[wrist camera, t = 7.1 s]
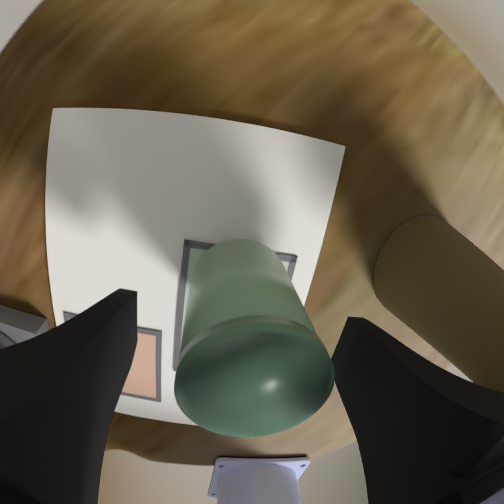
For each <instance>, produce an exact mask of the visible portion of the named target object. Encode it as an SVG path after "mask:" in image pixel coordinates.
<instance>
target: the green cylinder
mask: <svg viewBox="0 0 504 504" xmlns="http://www.w3.org/2000/svg"><path fill="white" fill-rule="evenodd" d="M334 381H335V370H334V366H333V363H332V361H331V359H330V356H329V354H328V352H327V350H326V348H325V346H324V344H323V342H322V341H321V340H320V338H319V337H318V336H317V334H316V332H315V329H314V327H313V325H312V323H311V321H310V319H309V317H308V315H307V313H306V311H305V309H304V306H303V304H302V302H301V300H300V298H299V296H298V294H297V292H296V290H295V288H294V286H293V284H292V282H291V280H290V278H289V276H288V274H287V271H286V269H285V267H284V265H283V263H282V261H281V260H280V258H279V257H278V256H277V255H276V253H275V252H274V251H272V250H271V249H270V248H268V247H267V246H265V245H263V244H261V243H259V242H256V241H253V240H247V239H233V240H228V241H224V242H221V243H218V244H216V245H214V246H213V247H211V248H210V249H208V250H207V251H206V252H205V253H203V254H202V256H201V257H200V258H199V259H198V261H197V262H196V264H195V266H194V268H193V271H192V274H191V280H190V286H189V292H188V299H187V306H186V312H185V319H184V326H183V334H182V341H181V349H180V357H179V359H178V362H177V366H176V373H175V382H174V395H175V399H176V402H177V404H178V406H179V408H180V409H181V411H182V412H183V413H184V414H185V415H186V416H187V417H188V418H189V419H190V420H191V421H192V422H194V423H195V424H197V425H199V426H200V427H202V428H204V429H207V430H209V431H211V432H215V433H218V434H222V435H227V436H234V437H258V436H265V435H270V434H274V433H278V432H281V431H284V430H287V429H290V428H292V427H294V426H296V425H298V424H300V423H302V422H303V421H305V420H306V419H308V418H309V417H311V416H312V415H313V414H314V413H316V412H317V411H318V410H319V409H320V408H321V407H322V406H323V404H324V403H325V402H326V400H327V399H328V397H329V395H330V394H331V391H332V389H333V386H334Z"/></svg>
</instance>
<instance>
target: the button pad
mask: <svg viewBox="0 0 504 504" xmlns="http://www.w3.org/2000/svg"><path fill="white" fill-rule="evenodd" d="M47 331H49V325H48V320H47V318H43V317H39V316H36V315H32V314H29V313H25V312H22V311H19V310H16V309H12V308H9V307H6V306H3V305H0V349H2V348H5V347H8V346H11V345H14V344H17V343H20V342H23V341H26V340H28V339H31V338H33V337H35V336H38V335H40V334H42V333H44V332H47Z"/></svg>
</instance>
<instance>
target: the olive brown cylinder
mask: <svg viewBox="0 0 504 504" xmlns="http://www.w3.org/2000/svg"><path fill="white" fill-rule="evenodd" d="M373 285H374V288H375V292H376V296H377V298H378V299H379V301H380V302H381V303H382V305H383V306H384V307H385V308H386V309H388V310H389V311H390V312H391V313H392V314H394V315H395V316H396V317H397V318H399V319H400V320H401V321H402V322H403V323H405V324H406V325H407V326H408V327H410V328H411V329H412V330H413V331H414V332H416V333H417V334H418V335H419V336H420V337H422V338H423V339H424V340H425V341H426V342H427V343H429V344H430V345H431V346H432V347H433V348H435V349H436V350H437V351H438V352H439V353H440V354H442V355H443V356H444V357H445V358H446V359H447V360H449V361H450V362H451V363H452V364H453V365H454V366H456V367H457V368H458V369H459V370H460V371H461V372H463V373H464V374H465V375H466V376H467V377H468V378H469V379H470V380H471V381H473V383H475V384H477V385H480V386H483V387H486V388H489V389H492V390H496V391H499V392H503V393H504V270H503V269H502V268H500V267H499V266H498V265H497V264H496V263H495V262H494V261H493V260H492V259H490V258H489V257H488V256H487V255H486V254H485V253H484V252H482V251H481V250H480V249H479V248H478V247H477V246H475V245H474V244H473V243H472V242H471V241H469V240H468V239H467V238H466V237H464V236H463V235H462V234H461V233H460V232H458V231H457V230H456V229H454V228H453V227H452V226H451V225H449V224H448V223H447V222H445V221H444V220H443V219H442V218H439V217H436V216H432V215H423V216H416V217H414V218H412V219H410V220H408V221H406V222H404V223H402V224H401V225H400V226H399V227H398V228H397V229H396V230H395V231H394V232H393V233H392V234H391V235H390V236H389V237H388V239H387V241H386V242H385V244H384V245H383V247H382V249H381V250H380V252H379V255H378V258H377V261H376V264H375V267H374V281H373Z"/></svg>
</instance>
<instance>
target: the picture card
mask: <svg viewBox="0 0 504 504" xmlns="http://www.w3.org/2000/svg"><path fill="white" fill-rule="evenodd" d="M345 147H346V146H343V145H339V144H335V143H332V142H328V141H324V140H320V139H316V138H312V137H308V136H304V135H300V134H296V133H291V132H287V131H282V130H278V129H273V128H268V127H263V126H258V125H253V124H247V123H242V122H236V121H230V120H224V119H217V118H210V117H203V116H196V115H188V114H179V113H169V112H159V111H147V110H133V109H113V108H53V111H52V118H51V125H50V133H49V143H48V154H47V168H46V195H45V217H46V244H47V258H48V270H49V279H50V288H51V295H52V302H53V309H54V315H55V321H56V326H59V325H60V324H62V323H64V322H66V321H67V320H69V319H71V318H73V317H74V316H76V315H78V314H80V313H81V312H83V311H84V310H86V309H88V308H89V307H91V306H92V305H94V304H95V303H97V302H99V301H100V300H102V299H103V298H105V297H106V296H108V295H109V294H111V293H112V292H114V291H116V290H118V289H119V288H122V289H128V290H133V291H137V334H138V342H137V346H136V350H135V354H134V358H133V362H132V366H131V369H130V371H129V374H128V376H127V379H126V382H125V384H124V387H123V390H122V392H121V395H120V397H119V400H118V403H117V406H116V408H115V411H114V412H118V413H123V414H128V415H133V416H138V417H143V418H148V419H154V420H160V421H167V422H174V423H181V424H189V425H197V424H195V423H194V422H192V421H191V420H190V419H189V418H188V417H187V416H186V415H185V414H184V413H183V412H182V411H181V409H180V408H179V406H178V404H177V402H176V399H175V395H174V382H175V373H176V366H177V362H178V359H179V357H180V349H181V341H182V334H183V326H184V319H185V312H186V306H187V299H188V292H189V286H190V280H191V274H192V271H193V268H194V266H195V264H196V262H197V261H198V259H199V258H200V257H201V256H202V254H203V253H205V252H206V251H207V250H208V249H210V248H211V247H213V246H214V245H216V244H218V243H221V242H224V241H228V240H233V239H247V240H253V241H256V242H259V243H261V244H263V245H265V246H267V247H268V248H270V249H271V250H272V251H274V252H275V253H276V255H277V256H278V257H279V258H280V260H281V261H282V263H283V265H284V267H285V269H286V271H287V274H288V276H289V278H290V280H291V282H292V284H293V286H294V288H295V290H296V292H297V294H298V296H299V298H300V300H301V302H302V304H303V306H304V304H305V301H306V297H307V294H308V291H309V287H310V284H311V281H312V277H313V274H314V270H315V267H316V263H317V260H318V256H319V252H320V249H321V245H322V242H323V238H324V234H325V230H326V226H327V223H328V219H329V215H330V211H331V207H332V203H333V199H334V195H335V191H336V187H337V182H338V178H339V174H340V169H341V165H342V161H343V156H344V151H345ZM197 426H199V425H197Z"/></svg>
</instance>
